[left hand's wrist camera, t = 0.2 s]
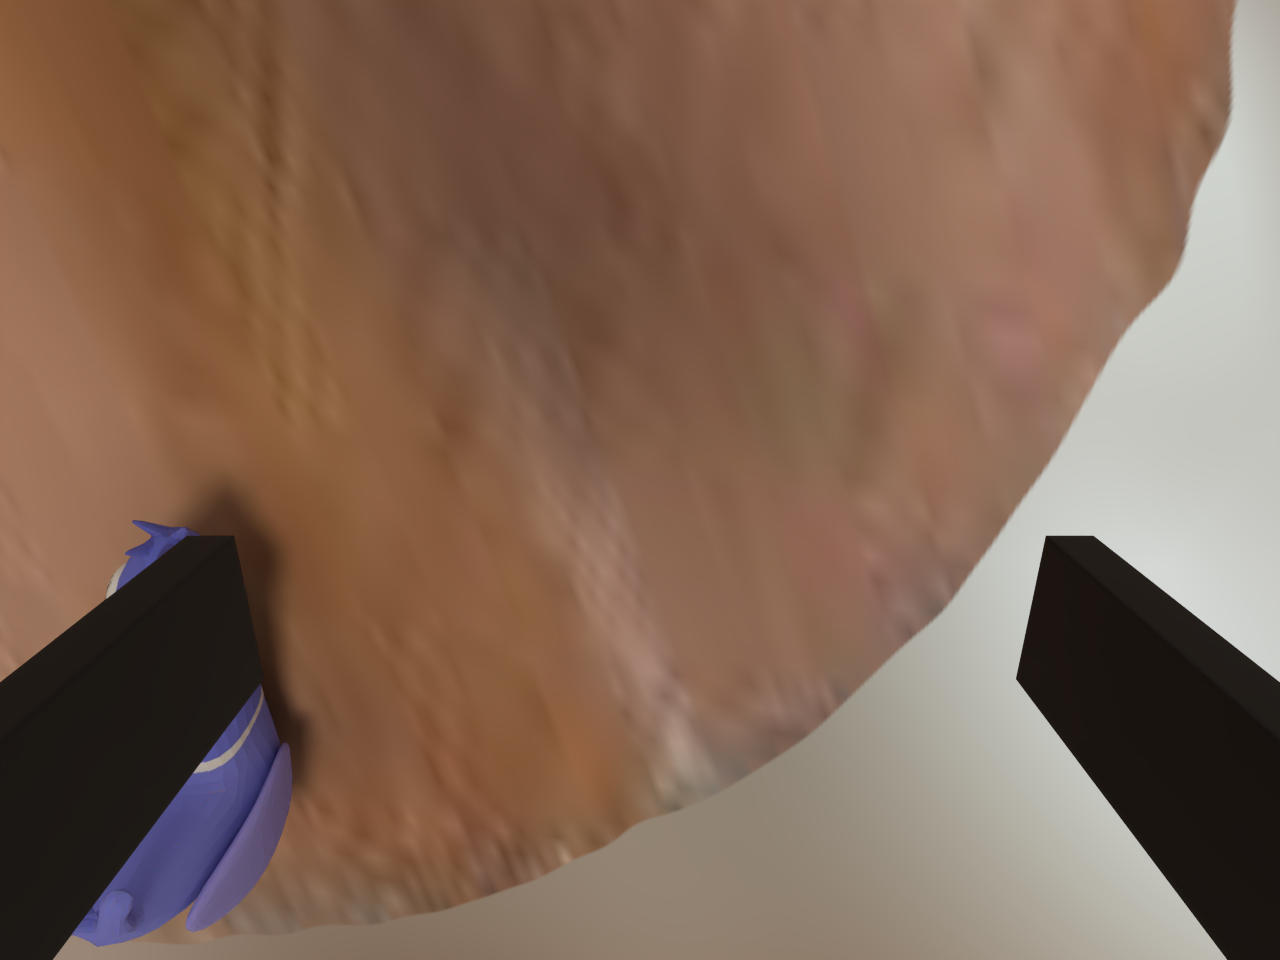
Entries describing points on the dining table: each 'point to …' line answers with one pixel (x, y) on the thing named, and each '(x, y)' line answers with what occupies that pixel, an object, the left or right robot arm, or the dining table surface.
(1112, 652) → the left robot arm
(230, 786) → the toy
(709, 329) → the dining table surface
